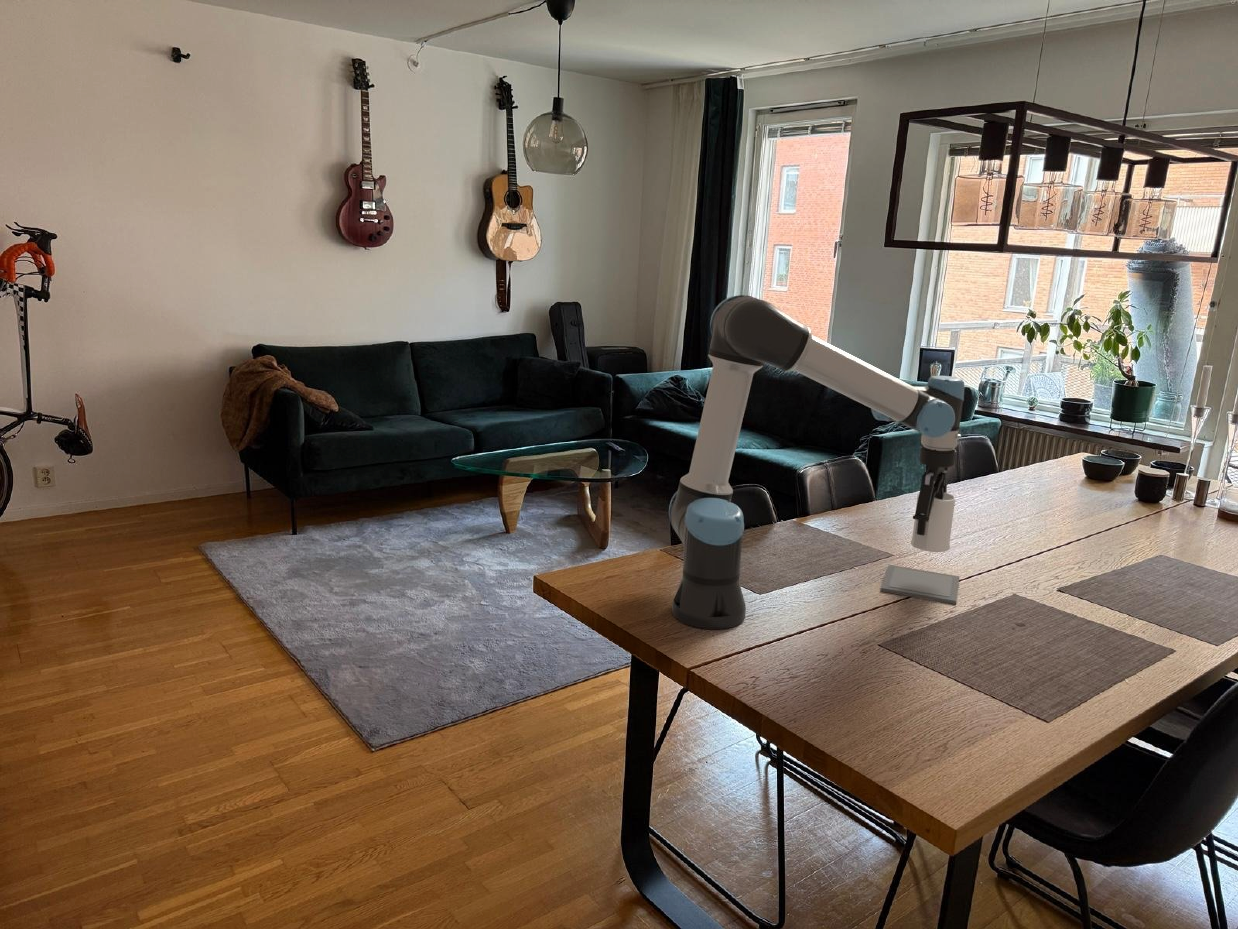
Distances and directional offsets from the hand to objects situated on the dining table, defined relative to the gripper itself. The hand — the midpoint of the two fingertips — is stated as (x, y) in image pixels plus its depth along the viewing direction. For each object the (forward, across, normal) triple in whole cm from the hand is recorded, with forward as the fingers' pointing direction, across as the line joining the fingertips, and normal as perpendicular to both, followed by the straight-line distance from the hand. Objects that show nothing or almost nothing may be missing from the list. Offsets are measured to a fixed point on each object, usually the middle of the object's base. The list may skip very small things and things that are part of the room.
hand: (926, 540), depth 200 cm
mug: (+2, 0, 0) cm, 2 cm away
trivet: (+11, 0, 0) cm, 11 cm away
